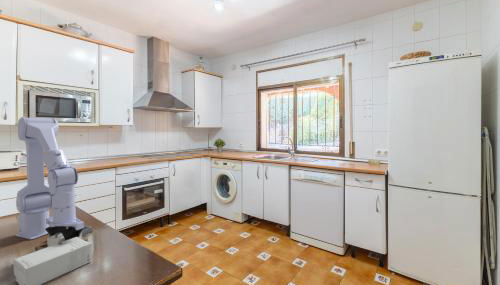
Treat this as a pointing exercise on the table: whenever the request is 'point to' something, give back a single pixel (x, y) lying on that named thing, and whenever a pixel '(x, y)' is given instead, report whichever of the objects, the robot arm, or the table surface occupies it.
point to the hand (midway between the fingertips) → (65, 248)
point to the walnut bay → (47, 245)
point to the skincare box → (51, 261)
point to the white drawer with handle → (57, 239)
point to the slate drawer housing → (84, 230)
